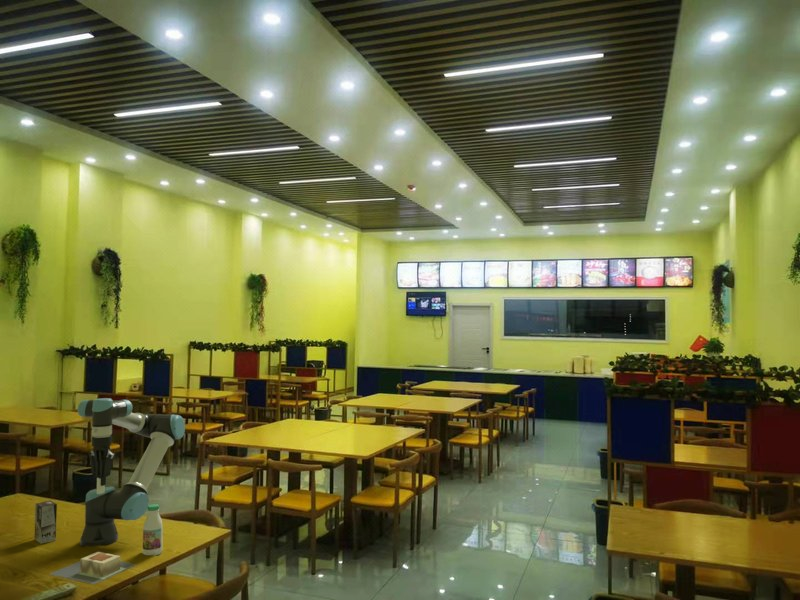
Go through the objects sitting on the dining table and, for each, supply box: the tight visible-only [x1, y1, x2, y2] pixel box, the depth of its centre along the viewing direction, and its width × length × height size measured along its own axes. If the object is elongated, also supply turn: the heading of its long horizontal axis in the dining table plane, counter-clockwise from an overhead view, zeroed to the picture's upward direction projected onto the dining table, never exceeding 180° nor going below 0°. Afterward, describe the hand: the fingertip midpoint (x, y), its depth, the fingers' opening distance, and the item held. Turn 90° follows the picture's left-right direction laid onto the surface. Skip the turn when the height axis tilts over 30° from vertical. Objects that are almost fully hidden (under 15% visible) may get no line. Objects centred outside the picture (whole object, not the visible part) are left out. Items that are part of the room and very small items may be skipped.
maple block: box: [80, 551, 121, 577], centre depth 231 cm, size 5×8×12 cm
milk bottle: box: [142, 503, 164, 556], centre depth 252 cm, size 8×8×20 cm
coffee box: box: [34, 500, 58, 544], centre depth 268 cm, size 9×6×16 cm
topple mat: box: [49, 560, 138, 585], centre depth 233 cm, size 24×20×1 cm
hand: (100, 493), depth 248 cm, fingers closed
